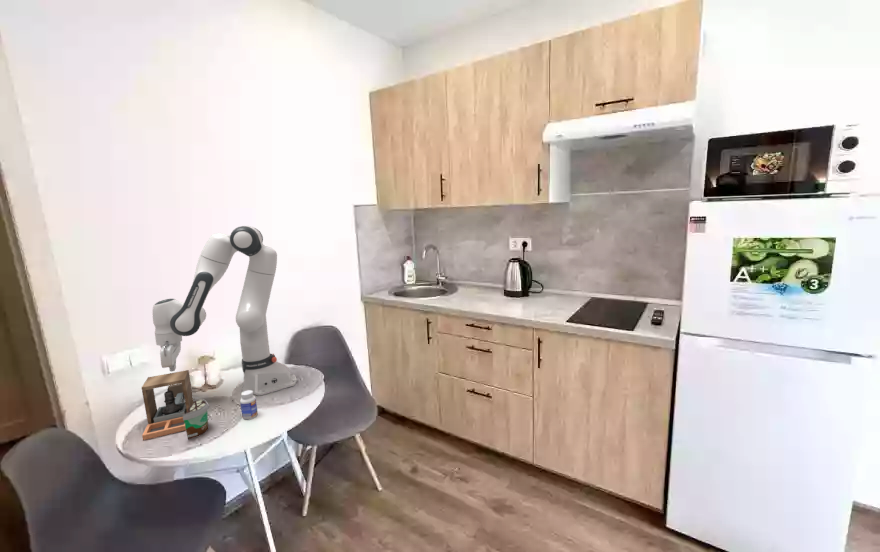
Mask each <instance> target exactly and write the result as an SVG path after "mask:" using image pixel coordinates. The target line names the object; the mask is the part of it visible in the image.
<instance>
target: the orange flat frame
mask: <svg viewBox="0 0 880 552" xmlns="http://www.w3.org/2000/svg"><path fill="white" fill-rule="evenodd" d="M181 432H186V428H185V423H184V420H183V417H179V418H174V419H170V420H165V421H161V422H156V423H152V424H148V423H147V425H146V426H145V429H144V431H143V433H142V435H141V437H142V441H147V440H152V439H153V440H154V439H156V438H161V437H165V436H168V435H173V434H178V433H181Z"/></svg>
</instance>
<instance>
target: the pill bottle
mask: <svg viewBox="0 0 880 552" xmlns="http://www.w3.org/2000/svg"><path fill="white" fill-rule="evenodd" d="M240 397H241V398H240V400H239V404H240V405H239V406H240V410H241V411H240V412H241V417H242V419H243V420H251V419H254V418H256V417H257V416H258V404H257V398H256V395H254V394H253V391H252V390H247V391H244V392H243V391H242V392H241V393H240Z"/></svg>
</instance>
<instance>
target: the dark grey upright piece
mask: <svg viewBox="0 0 880 552" xmlns="http://www.w3.org/2000/svg"><path fill="white" fill-rule="evenodd" d="M163 395H164V401H163V402H164V403H165V406H166V408H165V409H164V410H163V411H162V413H163V416H164V415H169V414H173V413H178V412H181V411H180V406H178V405H176V404H175V398H176V397H175V398H174V394H173V391H171V390H169V389H168V388H167V389H166V391H165V392H164V394H163Z"/></svg>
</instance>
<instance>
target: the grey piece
mask: <svg viewBox="0 0 880 552" xmlns="http://www.w3.org/2000/svg"><path fill="white" fill-rule="evenodd" d="M191 388H192V386H191ZM167 389H169V390H171V391H173V394H174V398H175V404H176V405H178V406H180V411H179V412H178V413H173V414H169V415H164V414H163V413H162V411H163V410H164V409H165V408H166V405H163V406H159V407H158V408H157V412H156V415H155V417H154V423H156V422H161V421H165V420H170V419H174V418H179V417H183V414H186V412H187V411H186V405H185V401H183V402H182V400H183V398H184V392H183V386H182V383H180V384H174V385H169V386H167Z"/></svg>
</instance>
